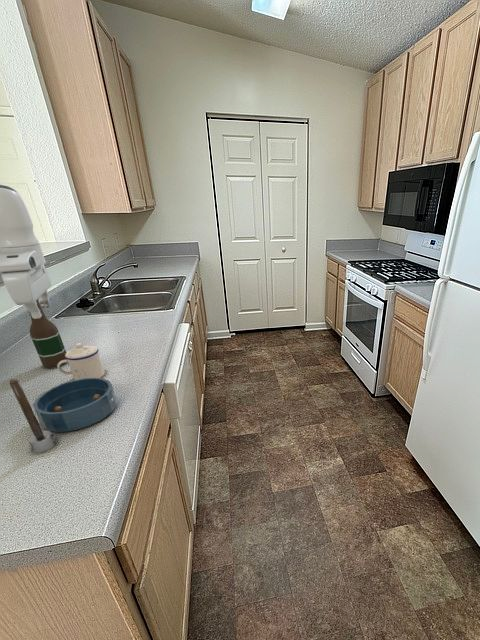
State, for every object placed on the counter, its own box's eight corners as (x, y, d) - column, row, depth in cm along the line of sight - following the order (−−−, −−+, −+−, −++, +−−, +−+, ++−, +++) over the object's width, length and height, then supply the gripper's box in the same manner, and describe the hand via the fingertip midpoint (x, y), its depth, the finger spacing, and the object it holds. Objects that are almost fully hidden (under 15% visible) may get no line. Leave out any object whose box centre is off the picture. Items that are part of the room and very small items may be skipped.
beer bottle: (67, 356, 122) (43, 292, 111) (71, 363, 117) (47, 297, 106) (41, 363, 117) (14, 297, 107) (45, 371, 112) (16, 302, 102)
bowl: (34, 441, 80) (24, 421, 77) (51, 403, 94) (43, 385, 92) (114, 422, 86) (108, 403, 83) (119, 389, 100) (113, 372, 98)
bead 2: (94, 402, 93) (92, 396, 92) (95, 399, 95) (93, 393, 94) (102, 401, 94) (100, 395, 93) (102, 397, 96) (101, 391, 95)
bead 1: (54, 415, 88) (51, 409, 87) (55, 411, 90) (53, 405, 89) (62, 413, 89) (60, 407, 88) (64, 410, 90) (61, 403, 90)
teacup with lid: (105, 367, 114) (95, 336, 109) (106, 378, 107) (95, 345, 101) (64, 376, 109) (51, 344, 103) (62, 388, 102) (48, 354, 96)
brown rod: (30, 454, 76) (-4, 386, 67) (35, 443, 79) (3, 376, 71) (53, 449, 77) (22, 382, 69) (57, 438, 81) (28, 372, 73)
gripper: (18, 252, 88) (38, 303, 94) (-10, 266, 71) (16, 326, 77) (47, 251, 90) (63, 300, 96) (25, 263, 73) (48, 322, 80)
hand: (42, 312), depth 87 cm, fingers open, 8 cm apart
